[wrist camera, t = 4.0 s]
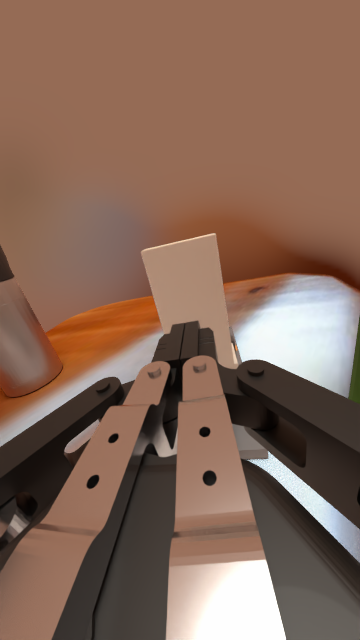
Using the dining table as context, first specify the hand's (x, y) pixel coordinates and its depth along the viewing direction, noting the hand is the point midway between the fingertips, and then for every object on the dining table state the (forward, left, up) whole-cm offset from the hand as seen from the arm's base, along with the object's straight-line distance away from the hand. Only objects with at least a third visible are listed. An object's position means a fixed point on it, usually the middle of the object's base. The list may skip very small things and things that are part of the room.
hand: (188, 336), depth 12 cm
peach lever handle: (-5, +3, -11) cm, 12 cm away
